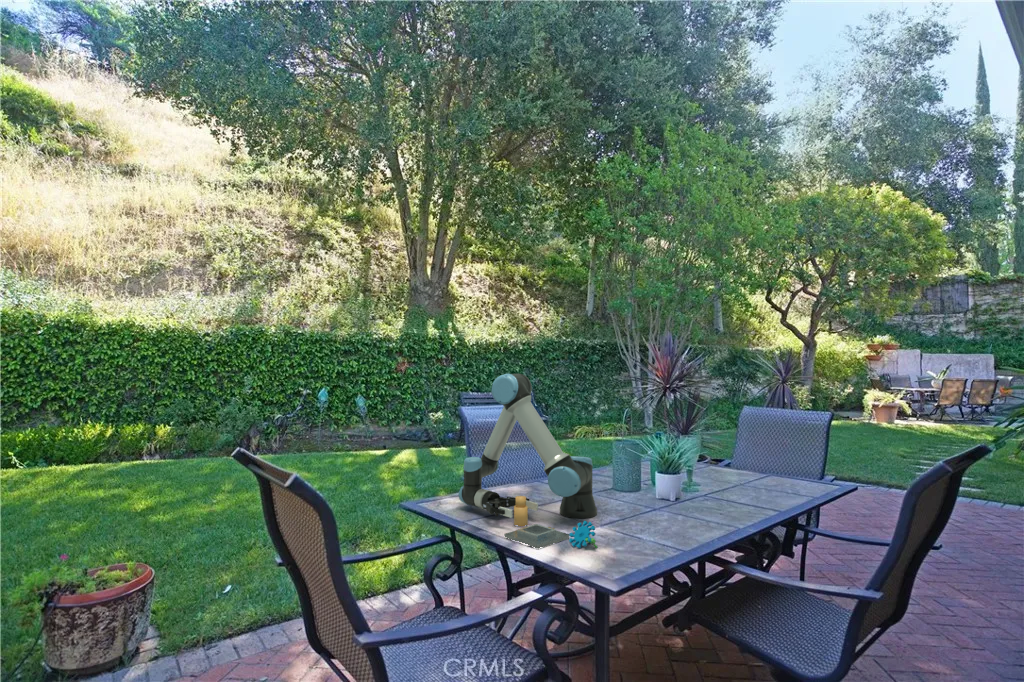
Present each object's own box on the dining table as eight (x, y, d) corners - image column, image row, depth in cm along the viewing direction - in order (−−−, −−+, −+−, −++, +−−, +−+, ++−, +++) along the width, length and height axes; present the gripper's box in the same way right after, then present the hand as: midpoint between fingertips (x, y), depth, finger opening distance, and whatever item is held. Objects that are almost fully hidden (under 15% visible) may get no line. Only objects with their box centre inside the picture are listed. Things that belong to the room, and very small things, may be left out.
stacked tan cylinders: (520, 522, 208) (520, 494, 208) (530, 525, 204) (530, 497, 205) (511, 525, 204) (511, 497, 205) (520, 528, 201) (520, 499, 201)
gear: (562, 538, 184) (581, 515, 187) (572, 547, 186) (590, 525, 189) (581, 552, 174) (600, 528, 177) (591, 562, 177) (610, 538, 179)
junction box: (536, 528, 200) (535, 520, 200) (569, 538, 188) (569, 529, 188) (504, 538, 189) (504, 529, 189) (537, 549, 177) (537, 540, 177)
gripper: (510, 503, 227) (547, 514, 211) (463, 515, 210) (500, 527, 194) (510, 485, 227) (547, 494, 212) (463, 496, 210) (500, 506, 194)
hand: (524, 510), depth 203 cm, fingers open, 13 cm apart
